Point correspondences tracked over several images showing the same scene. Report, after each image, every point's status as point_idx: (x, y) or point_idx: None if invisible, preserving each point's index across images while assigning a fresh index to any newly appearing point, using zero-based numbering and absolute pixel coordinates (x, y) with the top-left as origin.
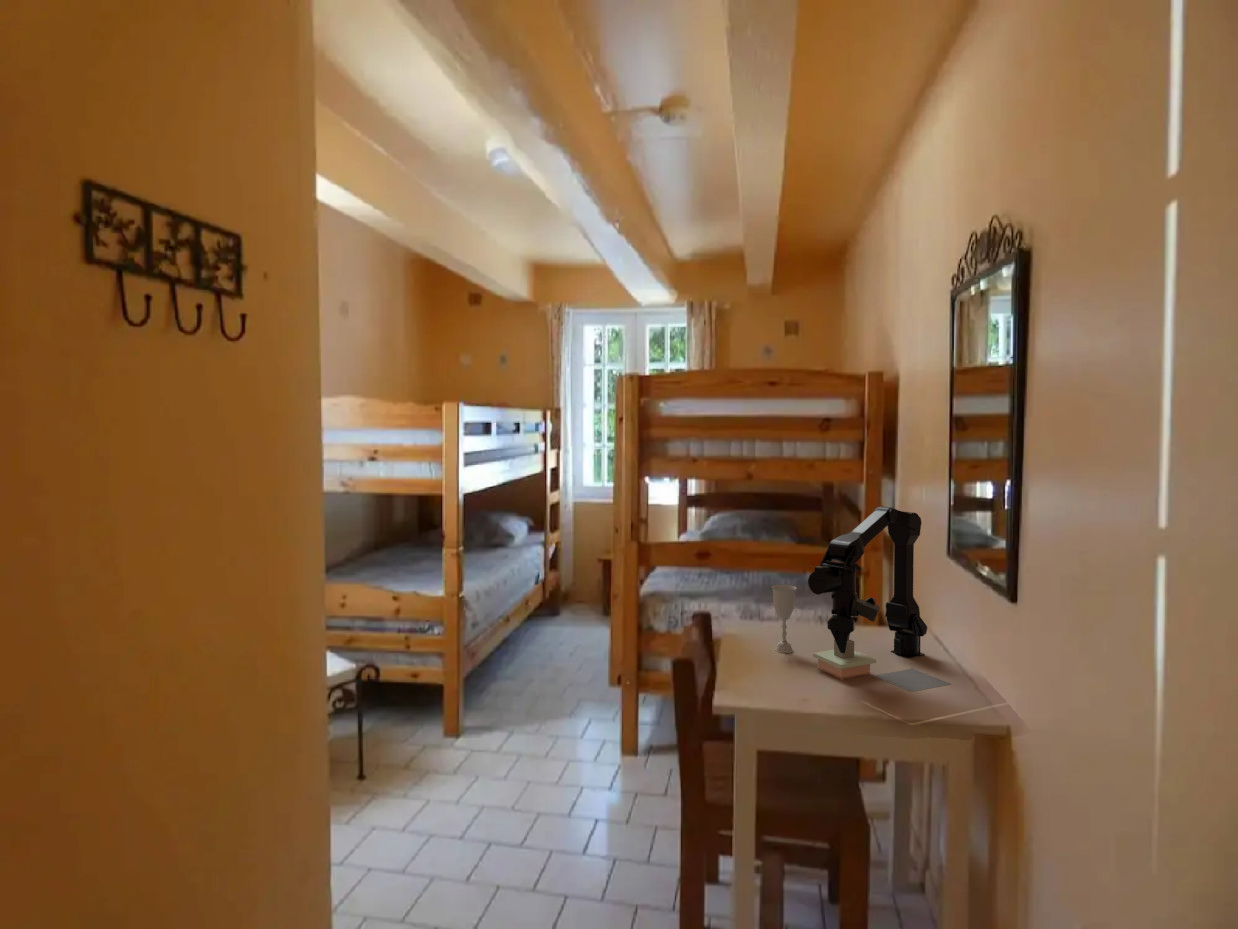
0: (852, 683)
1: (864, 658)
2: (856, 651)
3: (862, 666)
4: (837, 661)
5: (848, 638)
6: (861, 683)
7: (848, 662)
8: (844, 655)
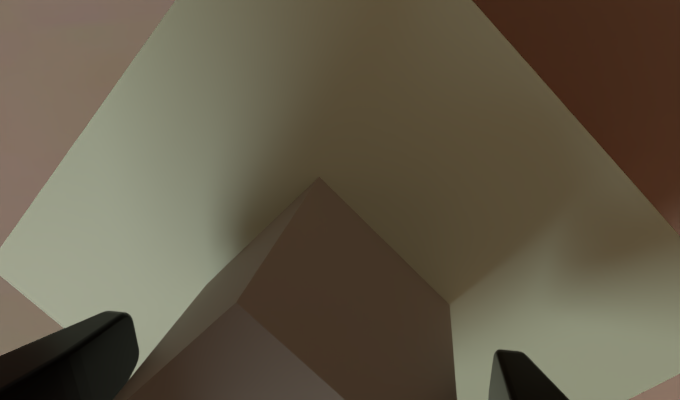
0: (641, 122)
1: (346, 26)
2: (69, 158)
3: None
4: (594, 367)
5: (30, 382)
6: (626, 32)
7: (618, 242)
8: (434, 315)
